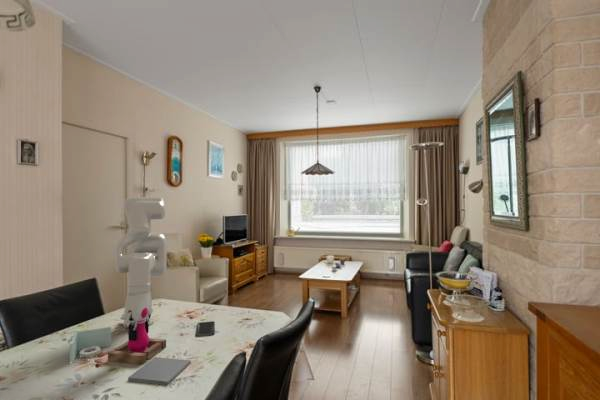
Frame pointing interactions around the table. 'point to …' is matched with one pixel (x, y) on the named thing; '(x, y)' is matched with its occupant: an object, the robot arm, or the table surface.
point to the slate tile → (160, 370)
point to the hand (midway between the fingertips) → (138, 336)
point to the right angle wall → (89, 342)
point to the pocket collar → (125, 356)
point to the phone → (205, 329)
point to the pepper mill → (140, 335)
